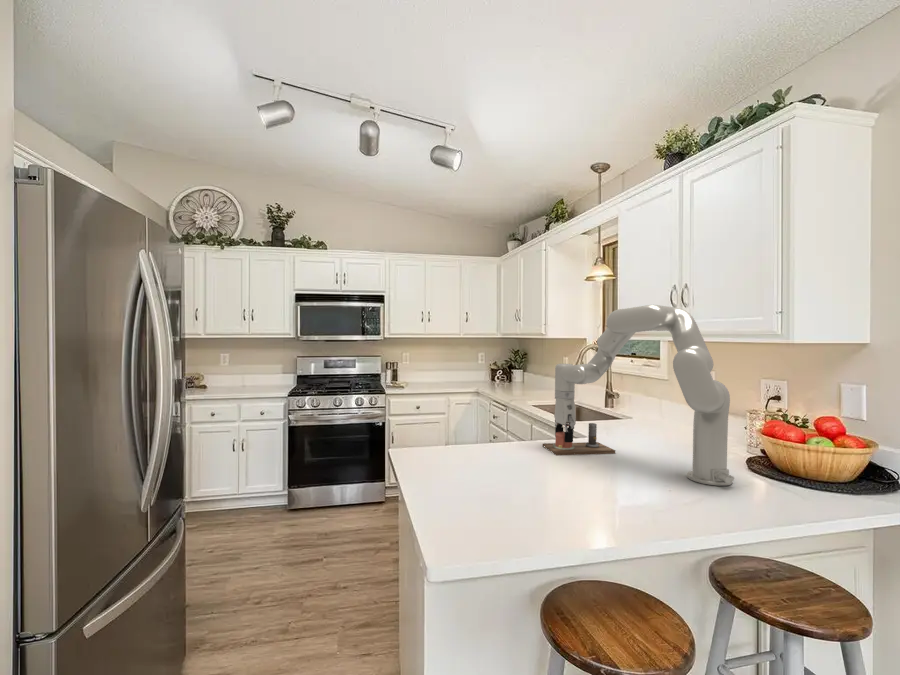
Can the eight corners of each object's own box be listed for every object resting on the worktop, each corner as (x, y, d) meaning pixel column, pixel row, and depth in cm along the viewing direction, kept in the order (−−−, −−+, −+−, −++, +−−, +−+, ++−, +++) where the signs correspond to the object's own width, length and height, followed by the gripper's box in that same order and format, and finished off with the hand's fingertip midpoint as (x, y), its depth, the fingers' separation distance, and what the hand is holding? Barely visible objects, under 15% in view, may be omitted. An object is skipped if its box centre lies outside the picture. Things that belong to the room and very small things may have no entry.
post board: (615, 453, 179) (615, 427, 179) (556, 455, 174) (556, 428, 174) (597, 445, 192) (598, 420, 192) (542, 446, 188) (543, 421, 188)
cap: (567, 449, 177) (568, 436, 177) (552, 446, 181) (552, 434, 181) (575, 445, 184) (575, 432, 184) (559, 443, 187) (559, 430, 187)
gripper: (583, 398, 174) (582, 444, 174) (564, 392, 192) (563, 434, 192) (564, 398, 173) (563, 445, 173) (547, 392, 190) (546, 435, 190)
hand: (563, 439), depth 182 cm, fingers open, 8 cm apart
